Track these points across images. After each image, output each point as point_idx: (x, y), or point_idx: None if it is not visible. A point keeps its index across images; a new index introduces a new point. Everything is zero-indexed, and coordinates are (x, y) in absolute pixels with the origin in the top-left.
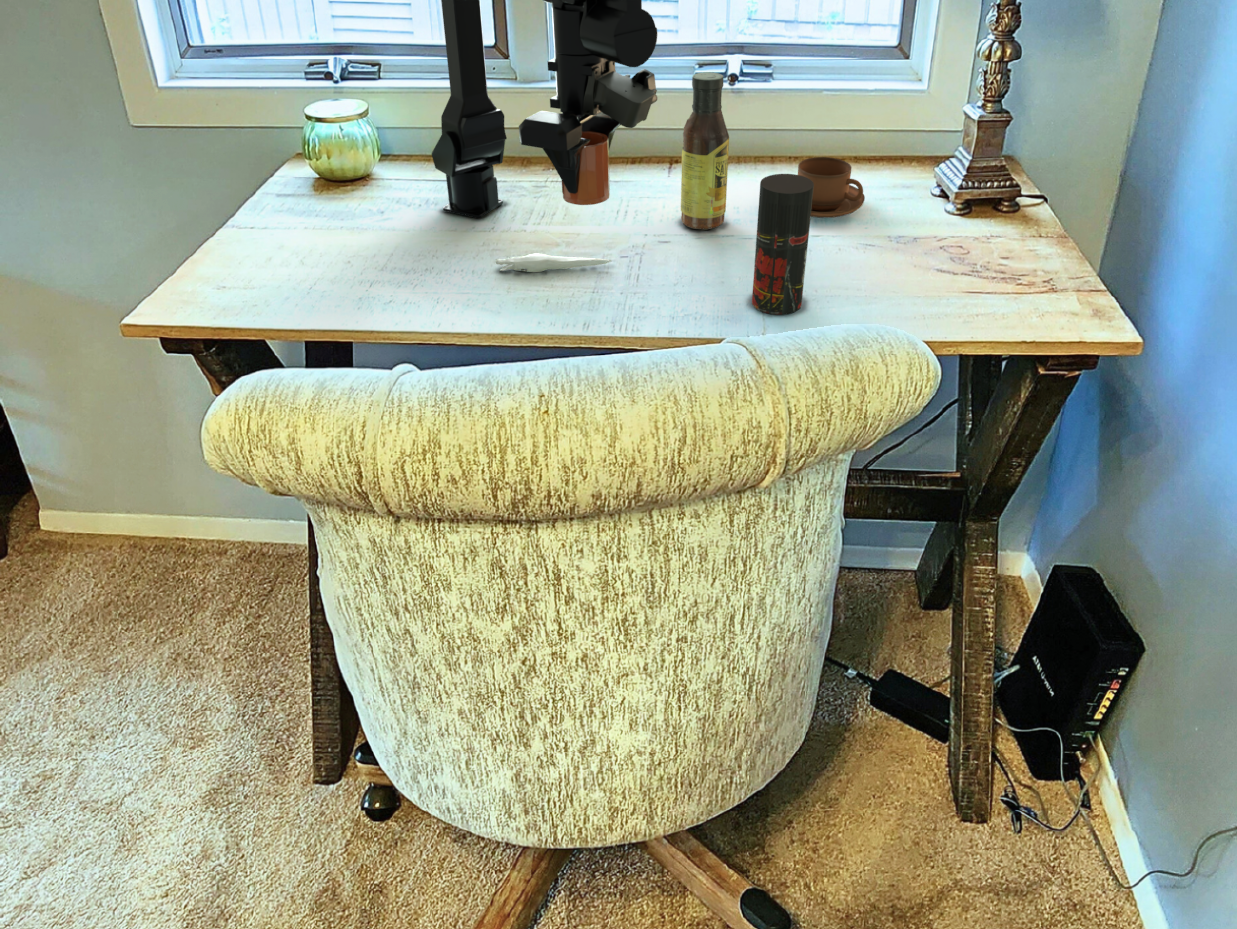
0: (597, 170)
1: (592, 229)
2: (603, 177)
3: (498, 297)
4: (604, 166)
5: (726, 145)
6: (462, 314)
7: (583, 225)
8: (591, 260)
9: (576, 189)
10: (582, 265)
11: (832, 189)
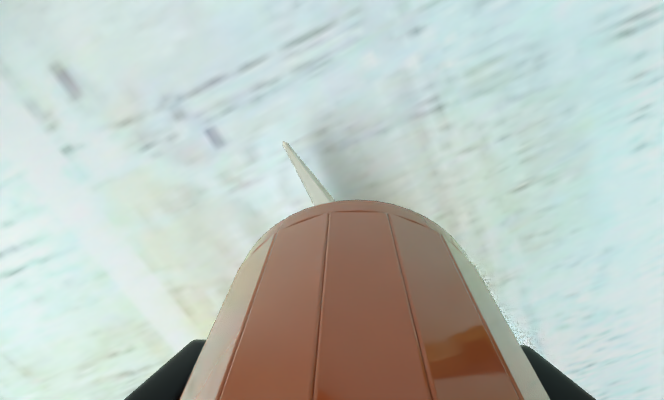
0: (497, 374)
1: (132, 277)
2: (408, 289)
3: (536, 285)
4: (396, 362)
5: None
6: (630, 307)
7: (128, 303)
8: (318, 186)
9: (543, 361)
10: (334, 200)
11: None
